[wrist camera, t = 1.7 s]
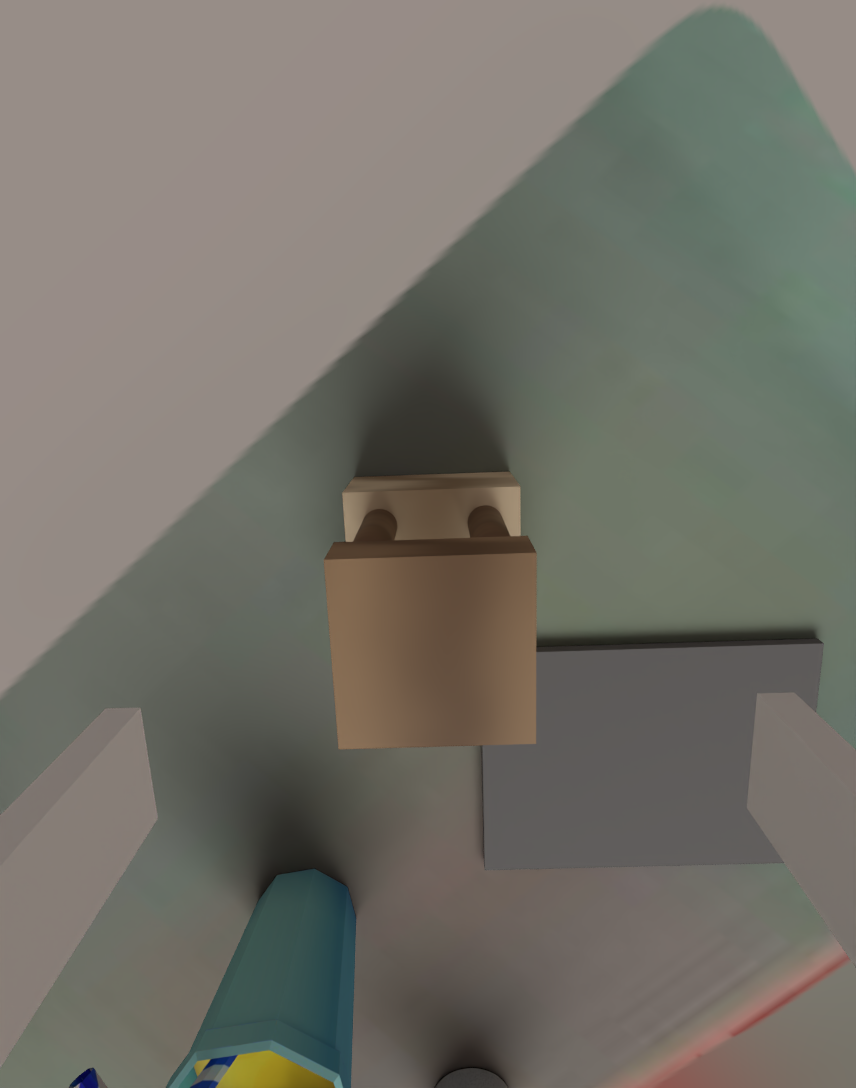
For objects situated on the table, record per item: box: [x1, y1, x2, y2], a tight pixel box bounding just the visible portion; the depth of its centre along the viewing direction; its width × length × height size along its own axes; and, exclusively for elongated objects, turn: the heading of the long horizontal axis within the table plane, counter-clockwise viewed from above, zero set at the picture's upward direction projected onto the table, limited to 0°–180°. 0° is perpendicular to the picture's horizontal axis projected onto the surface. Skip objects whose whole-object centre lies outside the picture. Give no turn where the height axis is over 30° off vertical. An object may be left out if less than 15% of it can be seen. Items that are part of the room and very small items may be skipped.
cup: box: [69, 869, 356, 1088], centre depth 29 cm, size 14×8×15 cm, turn 34°
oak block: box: [342, 472, 521, 542], centre depth 30 cm, size 7×7×4 cm
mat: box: [482, 639, 824, 870], centre depth 34 cm, size 16×12×1 cm
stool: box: [324, 505, 537, 749], centre depth 24 cm, size 6×6×8 cm
